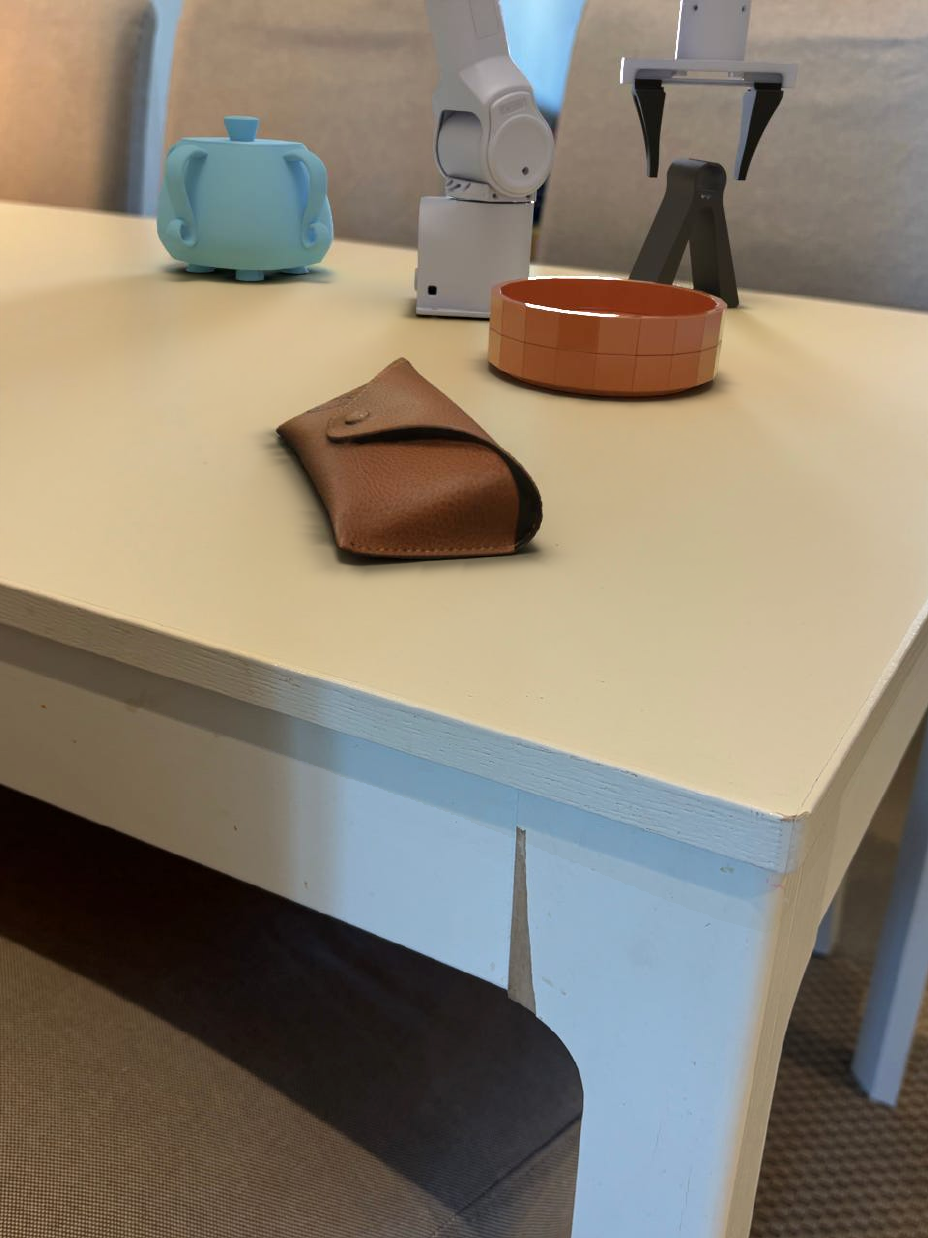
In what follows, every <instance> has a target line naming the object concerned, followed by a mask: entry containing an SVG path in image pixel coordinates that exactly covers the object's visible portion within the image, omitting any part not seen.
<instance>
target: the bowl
mask: <svg viewBox="0 0 928 1238" xmlns="http://www.w3.org/2000/svg"><path fill="white" fill-rule="evenodd" d="M727 311H728V307H727V304H726V303H725V302H724V301H723V300H722V299H721V298H718V297H716V296H713V295H710V294H707V293H705V292H702V291H698V290H693V288H689V287H684V286H679V285H674V284H672V285H668V284H661V283H655V282H647V281H638V280H628V278H627V279H626V278H617V277H599V276H536V277H529V278H522V279H516V280H510V281H504V282H501V283H499V284H497V285H494V286H492V287H491V304H490V318H489V324H488V342H487V343H488V344H487V361H488V362H489V363H490V364H492V365H493V366H494V367H495V368H497V369H498V370H500V371H501V372H505V373H507V375H509V376H511V377H513V378H514V379H517V380H519V381H522V382H524V383H527V384H529V385H533V386H537V387H540V388H545V389H549V390H554V391H560V392H565V393H572V394H579V395H589V396H599V397H619V398H620V397H621V398H623V397H624V398H628V397H630V398H637V397H655V396H656V397H657V396H664V395H672V394H677V393H681V392H684V391H687V390H690V389H692V388H693V387H694V388H695V387H698V386H700V385H702V384H703V385H704V384H705V383H708V382H711V381H713V380H714V378H715V376H717V374H718V370H719V365H720V357H721V350H722V345H723V337H724V329H725V324H726V317H727Z"/></svg>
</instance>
